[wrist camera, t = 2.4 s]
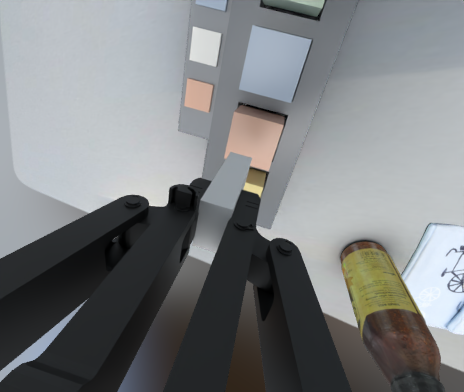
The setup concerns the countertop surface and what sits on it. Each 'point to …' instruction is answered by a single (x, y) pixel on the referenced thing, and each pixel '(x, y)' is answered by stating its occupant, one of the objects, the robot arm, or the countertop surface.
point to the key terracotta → (255, 135)
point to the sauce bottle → (390, 320)
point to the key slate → (273, 63)
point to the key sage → (298, 6)
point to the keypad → (231, 97)
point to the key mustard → (255, 181)
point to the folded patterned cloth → (439, 277)
